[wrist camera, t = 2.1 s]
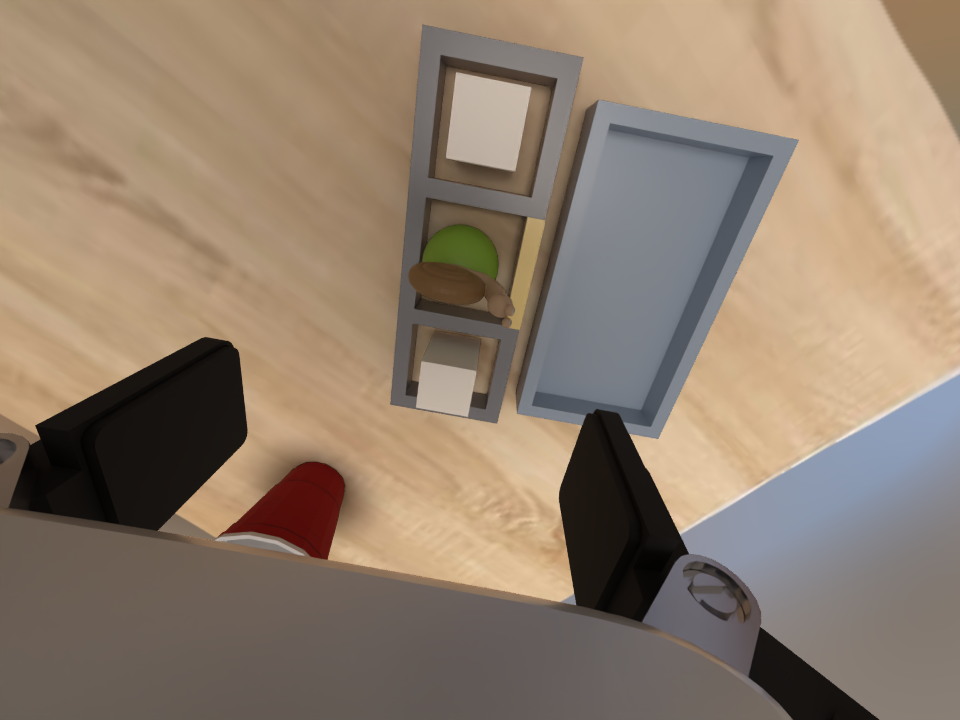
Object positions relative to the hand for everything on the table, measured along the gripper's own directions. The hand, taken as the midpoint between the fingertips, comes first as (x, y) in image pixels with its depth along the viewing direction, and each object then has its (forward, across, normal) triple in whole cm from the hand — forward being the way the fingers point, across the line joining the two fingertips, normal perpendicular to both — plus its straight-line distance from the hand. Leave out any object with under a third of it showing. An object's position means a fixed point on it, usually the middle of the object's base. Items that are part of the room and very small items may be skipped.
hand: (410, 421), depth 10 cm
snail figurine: (+22, 0, 0) cm, 22 cm away
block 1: (+22, 0, +8) cm, 23 cm away
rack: (+22, 0, 0) cm, 22 cm away
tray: (+22, -12, 0) cm, 25 cm away
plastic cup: (+22, +12, +26) cm, 36 cm away
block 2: (+22, 0, -9) cm, 23 cm away
